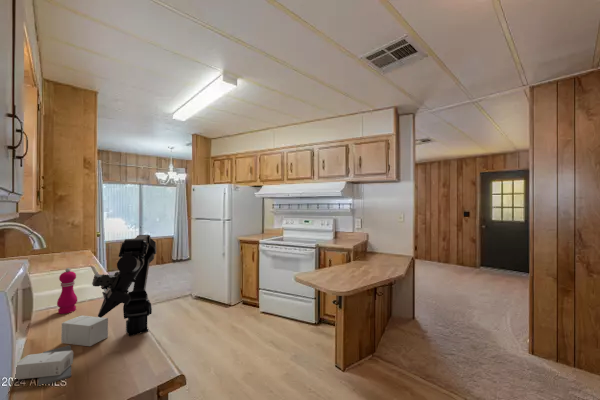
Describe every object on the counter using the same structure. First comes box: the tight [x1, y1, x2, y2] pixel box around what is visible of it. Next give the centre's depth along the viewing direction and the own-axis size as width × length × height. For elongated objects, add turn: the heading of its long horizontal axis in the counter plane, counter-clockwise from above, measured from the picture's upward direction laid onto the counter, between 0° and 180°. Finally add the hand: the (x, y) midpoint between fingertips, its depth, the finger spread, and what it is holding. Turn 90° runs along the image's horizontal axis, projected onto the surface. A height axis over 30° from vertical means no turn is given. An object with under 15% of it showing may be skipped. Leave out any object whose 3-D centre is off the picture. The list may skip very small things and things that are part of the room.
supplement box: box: [60, 315, 109, 347], centre depth 99 cm, size 7×7×13 cm
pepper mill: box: [56, 267, 78, 315], centre depth 126 cm, size 7×7×20 cm
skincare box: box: [15, 350, 74, 380], centre depth 80 cm, size 6×4×12 cm
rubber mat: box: [37, 344, 72, 387], centre depth 84 cm, size 7×22×1 cm, turn 41°
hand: (99, 317), depth 91 cm, fingers closed
